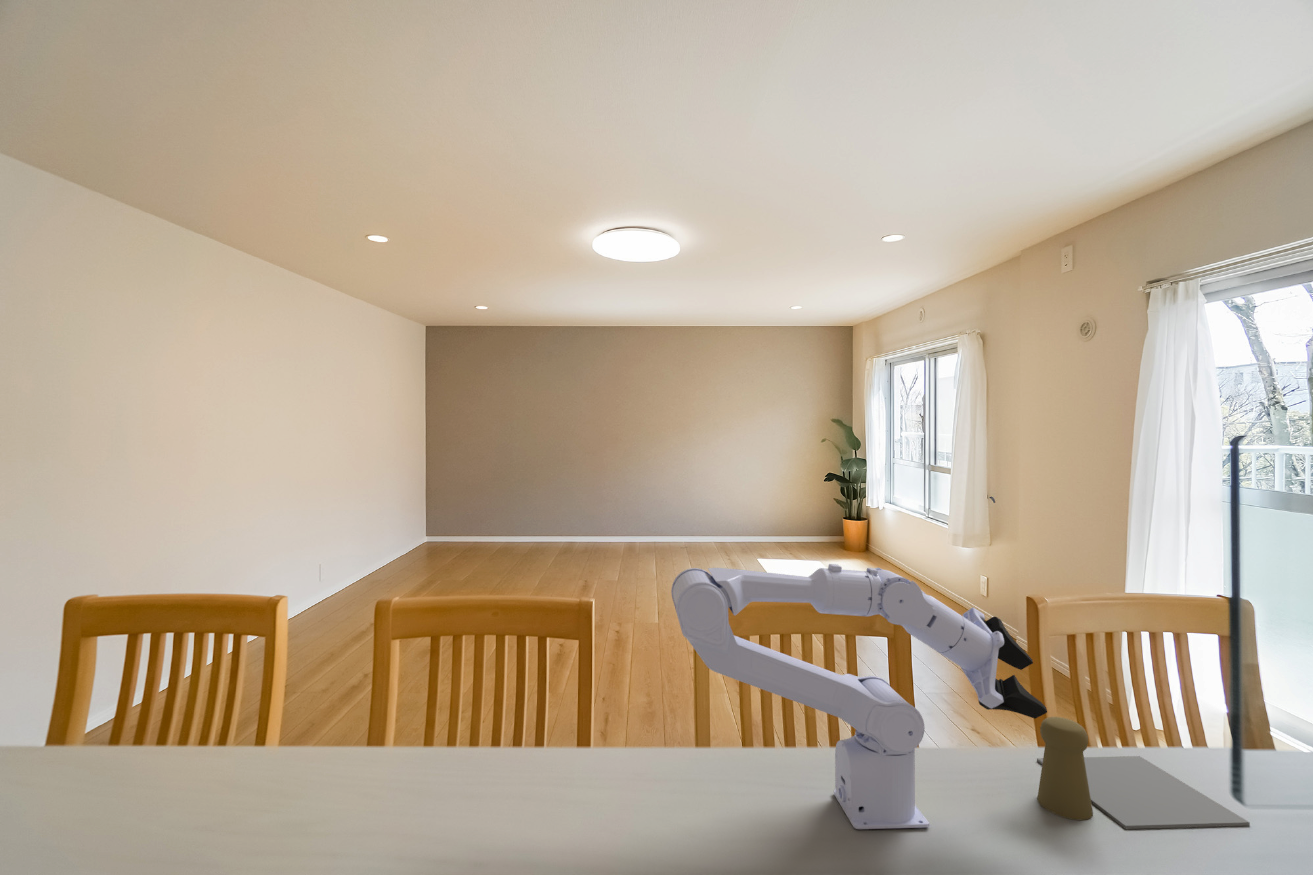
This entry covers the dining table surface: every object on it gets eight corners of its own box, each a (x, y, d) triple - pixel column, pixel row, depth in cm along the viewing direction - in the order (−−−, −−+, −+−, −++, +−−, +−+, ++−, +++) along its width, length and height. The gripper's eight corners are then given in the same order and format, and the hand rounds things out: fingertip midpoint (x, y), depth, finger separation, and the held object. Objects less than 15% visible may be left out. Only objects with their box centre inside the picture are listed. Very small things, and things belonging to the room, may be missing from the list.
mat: (1125, 828, 73) (1125, 825, 73) (1036, 760, 89) (1036, 758, 89) (1249, 825, 74) (1249, 822, 74) (1139, 758, 90) (1139, 755, 90)
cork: (1102, 822, 75) (1101, 734, 75) (1049, 816, 76) (1048, 729, 76) (1079, 795, 80) (1078, 713, 81) (1029, 790, 82) (1028, 709, 82)
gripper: (980, 662, 70) (1075, 724, 70) (963, 578, 82) (1044, 631, 82) (936, 689, 74) (1026, 747, 74) (926, 605, 86) (1004, 655, 86)
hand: (1033, 687), depth 78 cm, fingers open, 7 cm apart
